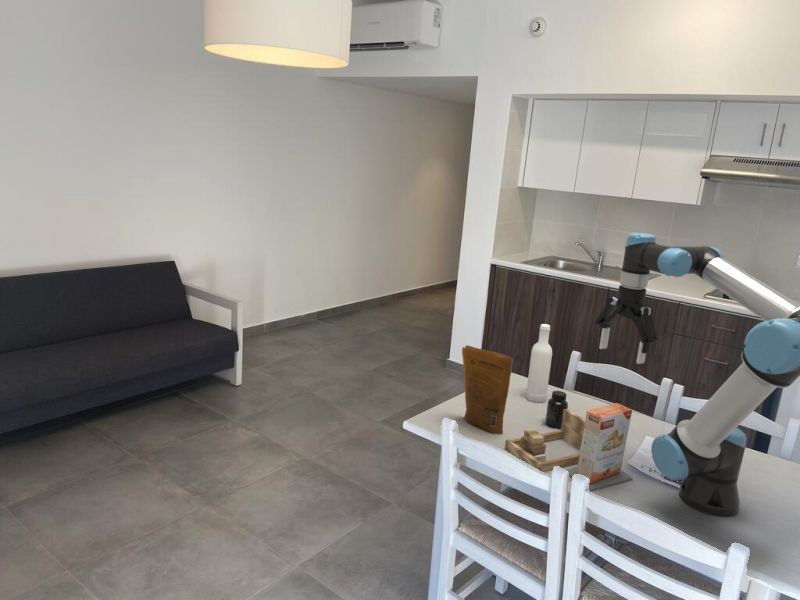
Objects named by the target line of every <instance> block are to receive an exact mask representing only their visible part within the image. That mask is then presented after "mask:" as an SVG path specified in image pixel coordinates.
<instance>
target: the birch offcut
mask: <svg viewBox="0 0 800 600" xmlns="http://www.w3.org/2000/svg"><path fill="white" fill-rule="evenodd" d="M520 448H522V449H523V450H525V449H524V448H523V447H521V446H520ZM525 451H526V452H527V453H529V454H530V455H532V454H531V453H530V452H528V451H527V450H525ZM532 456H533V457H534V458H536V459H537V460H539V461H540V462H544V461H547V455H546V453H545V454H541V455H537V456H534V455H532Z"/></svg>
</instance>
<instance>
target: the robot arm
mask: <svg viewBox="0 0 800 600" xmlns="http://www.w3.org/2000/svg"><path fill="white" fill-rule="evenodd" d="M624 248H625V249H624V255H623V259H622V260H623V261H622V268H621V273H620V278H619V284H620V285H619V286H618V289H617V290H618V291H617V296H612V297H608V299H607V303H606V305H605V306H604V308H603V310H601V312H600V314H599V316H598V317H597V318H596V320H595V324H596V325H599V327H600V330H599V338H600V341H599V347H598V348H599V349H600V350H604V349H608V344H609V338H610V331H611V327H610V326H611V325H612V323H614V322H615V321H616V320H617V319H618V318H619V317H620V318H621V317H623V318H627V319H629V320H630V319H631V321H632V322H633V323H634V325H635V328H636V329H637V331H638V333H639V336H640V338H641V340H642V341H639V345H638V350H637V357H636V360H635V361H636V363H635V364H637V365H639V364H640V365H641V364H644V363H645V362H646V355H647V354H649V351H650V347H651V344H652V343H656V342H658V341H659V340H658V336H657V330H656V327H655V326H656V325H655V322H654V317H653V308H652V307H644V302H645V300H646V296H647V295H646V294H647V289H646V288H647V287H648V282H649V279H650V278H649V277H650V273H651V272H655V273H659V274H662V275H665V276H666V277H675V278H682V277H683V276H684V275H688V274H689V275H690V274H691V275H692V274H693V275H695V276H698V277H699V278H701V279H702V280H703V281H706V282H707V283H708V284H710V285H711V286H712V287H714V288H716V289H717V290H718V291H720V292H722V293H723V294H724V295H726V296H727V297H729V298H730V299H732V300H733V301H734V302H736V303H737V304H739V305H740V306H742V307H744V308H745V309H747V310H748V311H750V312H751V313H752V314H754V315H756V316H757V317H758V318H760V319H761V320H762V322H759V323H757V324H756V325H755V326H753V328H751V329H750V330H749V331H748V333H747V335H746V336H745V339H744V342H743V343H744V346H745V347H744V348H743V351H742V352H741V355H740V356H741V361H742V363H741V364H740V365H739V366H738V368H737V369H736V370H734V372H733V373H732V374H731V375H730V376H729V377H728V378H727V379H726V380H725V381H724V382H723V384H722V385H721V386H720V387H718V389H717V390H716V391H715V392H714V394H713V395H711V397H710V398H709V399H708V400H707V401H706V402H705V403H704V405H702V407H701V408H700V409H699V410H698V411H697V412H696V413H695V414H694V415H693V416H692V418H691V419H683V420H681V421H680V422H678V423H677V425H675V426H674V428H673V429H672V430H671V431H670V432H669V433H667V434H665V433H664V434H660V435H658V436H656V437H655V438H654V440H653V441H652V443H651V448H650V449H651V450H650V451H651V457H652V461H653V463H654V465H655V467H656V469H657V470H658V471H659V472H660V474H662V475H663V476H664V477H665V478H668V479H670V480H676V481H677V480H681V481H682V480H683V481H682V482H681V483H680V486H679V490H678V496H679V497H680V499H681V501H683V502H684V503H685V504H686V505H687V506H689V507H691V508H693V509H694V510H696V511H699V512H702V513H704V514H707V515H711V516H715V517H724V518H725V517H727V518H728V517H732V516H735V515H737V514H738V513H739V509H740V503H741V501H740V496H739V495H740V494H739V489H738V480H739V475H740V473H741V467H742V461H743V458H744V455H745V450H746V448H747V447H746V445H747V436H746V434H745V432H744V431H742V430H741V429H740V428H738V427H739V425H741V423H742V422H744V421H745V420H746V419H747V417H749V415H751V414H752V413H753V412H754V411H755V410H756V409H757V408H758V406H760V405H761V404H762V403H763V402H764V401H765V400H766V399H767V398H768V397H769V396H770V395H771V394H772V393H773V392H774V391H775V390H776V389H777V388H780V389H781V388H782V389H784V388H788V387H790V386H791V385H792V384H793V383H794V382H795V381H796V380H798V378H799V377H800V304H799V303H797V302H796V301H794V300H793V299H790V298H789V297H788V296H786V295H784V294H782V293H781V292H779V291H778V290H776V289H774V288H773V287H771V286H769V285H768V284H766V283H764V282H763V281H761V280H759V278H757V277H754V276H753V275H751V274H749V273H748V272H747V271H745V270H744V269H742V268H740V267H738V266H737V265H735V264H733V263H731V262H730V261H728V260H727V259H725V256H724V254H723V253H722V251H721V250H720V249H718V248H717V247H714V246H713V247H712V246H706V245H703V246H669V245H663V244H658V243H657V242H656V236H655V235H654V234H650V233H645V232H630V233H629V234H628V236H627V239H626V244H625V246H624ZM650 271H651V272H650ZM616 306H617V308H616V309H615V310H614V308H615V307H616ZM613 310H614V311H613ZM612 311H613V313H612Z"/></svg>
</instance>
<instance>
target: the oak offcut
mask: <svg viewBox="0 0 800 600" xmlns="http://www.w3.org/2000/svg"><path fill="white" fill-rule="evenodd" d="M540 434H541V433H540V432H538V430H537V429H535V428H532V429H531V428H530V429H529V428H527V429H526V428H525V429H524V431H523V436H524V438H525V439H526V440H527V441H528V442H529V443H530V444H531V445H532V446H542V445H543V441H544V437H542V436H541V435H540Z"/></svg>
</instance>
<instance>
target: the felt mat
mask: <svg viewBox="0 0 800 600" xmlns="http://www.w3.org/2000/svg"><path fill="white" fill-rule="evenodd" d="M577 467H578V466H576V467H573V468H568V469H566V470H567V471H568V472H569V476H568V477H570V478H571V479H572V476H573V475H574V474H576V473H577ZM632 480H634V478H633V476H630V475H629V474H628V473H625V472H624V471H622V470H621V471H620V473H618V474H616V475H613V476H610V477H608V478H605V479H602V480H599V481H597V482H594V483H591V484H590V483H589V490H588V491H589V492H592V491H596V490H599V489H600V490H601V489H604V488H608V487H612V486H615V485H618V484H622V483H627V482H629V481H632Z"/></svg>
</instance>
